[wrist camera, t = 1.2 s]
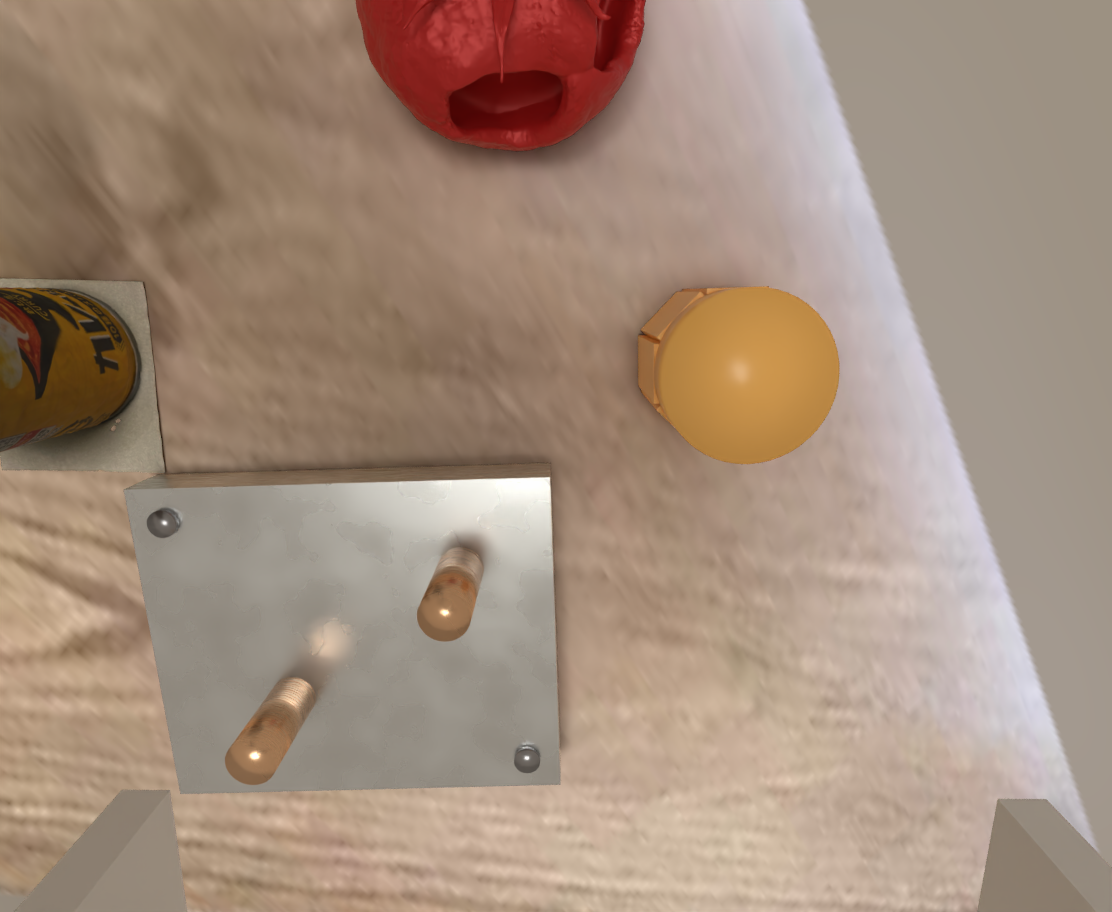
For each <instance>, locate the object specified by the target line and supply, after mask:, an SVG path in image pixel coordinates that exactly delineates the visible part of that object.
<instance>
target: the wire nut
mask: <svg viewBox="0 0 1112 912" xmlns="http://www.w3.org/2000/svg"><path fill="white" fill-rule="evenodd" d="M641 331H642V332H643V333H644V334H645V335H638V386H639V387H640V388H641V389H642V390H641V392H642V393H643V395H644V396H645V397H646V398H647V399H648V401H649V402H650V403H651V404H652V405H653V407H654V408H655V409H656V410H657V411H658V412H659V413H660V414H661V415H662V416H663V417H664V418H665V419H666V420H667V421H668V422H669V423H670V424H671V425H672V426H674V427H675V428H676V430H677V431H678V432H679V433H680V434H681V435H682V436H683V438H684V439H685V440H686V441H687V442H688V443H690V444H691V445H692V446H693V447H694V448H696V449H697V450H699V451H700V452H702V453H704V454H706V455H708V456H710V457H712V458H714V459H718V460H721V461H724V462H729V463H735V464H753V463H761V462H765V461H770V460H773V459H775V458H778V457H781V456H783V455H785V454H787V453H789V452H791V451H793V450H794V449H796V448H797V447H799V446H800V445H802V444H803V443H804V442H805V441H806V440H807V439H809V438H810V437H811V436H812V435H813V434H814V432H815V431H816V430H817V429H818V428H819V427H820V425H821V424H822V422H823V421H824V420H825V418H826V416H827V414H828V413H829V411H830V409H831V406H832V404H833V402H834V399H835V396H836V392H837V388H838V382H839V358H838V351H837V348H836V344H835V341H834V339H833V336H832V334H831V332H830V330H829V328H828V326H827V325H826V323H825V322H824V320H823V319H822V318H821V317H820V315H819V314H818V313H817V312H816V311H815V310H814V309H813V308H812V307H811V306H809V305H808V304H807V303H805V302H804V301H802V300H801V299H799V298H798V297H796V296H793V295H791V294H789V293H787V292H784V291H781V290H777V289H772V288H769V286H767V287H732V288H700V289H682V292H676V293H675V294H674V295H673V296H672V297H671V298H670V299H669V300H668V301H667V302H666V303H665V304H664V305H663V306H662V308H661V309H660V310H659V311H658V312H657V313H656V314H655V315H654V316H653V317H652V318H651V319H650V320H649V321H648V322H647V323H646V324H645V325H644V326H643V327H642V328H641Z"/></svg>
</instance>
